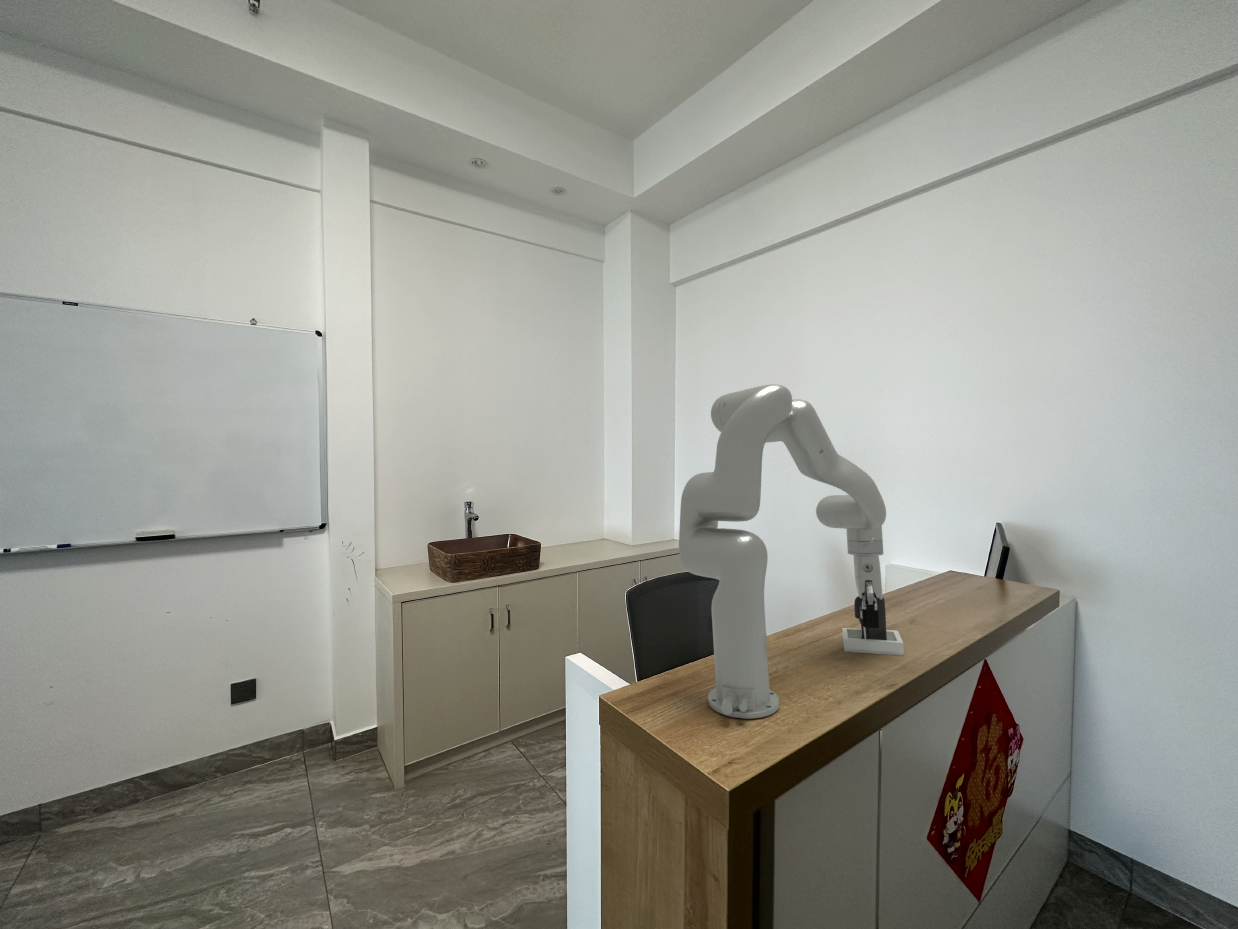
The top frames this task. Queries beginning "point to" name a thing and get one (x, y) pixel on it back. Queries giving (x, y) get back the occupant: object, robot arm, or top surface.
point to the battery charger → (881, 631)
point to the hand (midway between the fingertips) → (869, 621)
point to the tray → (872, 643)
